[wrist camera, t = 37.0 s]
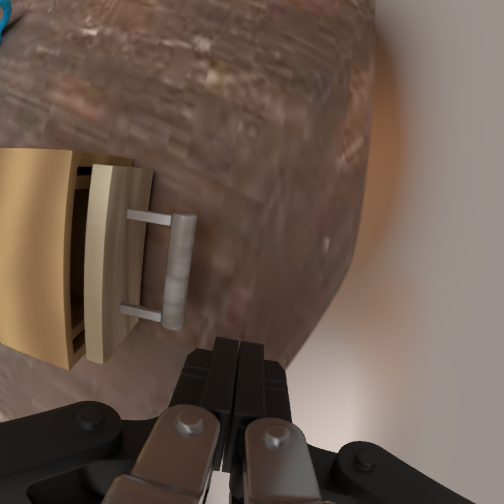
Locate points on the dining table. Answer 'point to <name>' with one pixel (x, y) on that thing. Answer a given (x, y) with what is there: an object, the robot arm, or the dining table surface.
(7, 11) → the mug
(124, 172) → the drawer
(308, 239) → the dining table surface
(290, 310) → the dining table surface
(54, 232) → the cabinet
